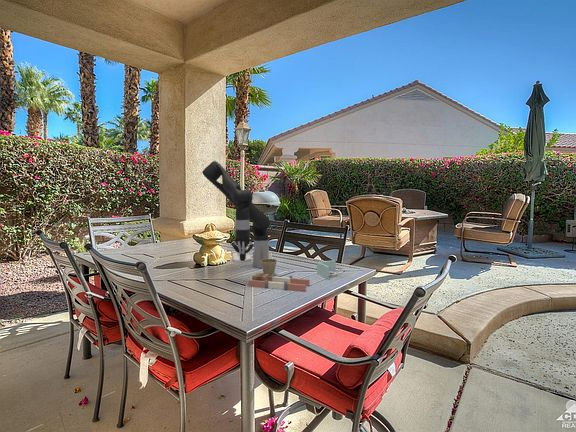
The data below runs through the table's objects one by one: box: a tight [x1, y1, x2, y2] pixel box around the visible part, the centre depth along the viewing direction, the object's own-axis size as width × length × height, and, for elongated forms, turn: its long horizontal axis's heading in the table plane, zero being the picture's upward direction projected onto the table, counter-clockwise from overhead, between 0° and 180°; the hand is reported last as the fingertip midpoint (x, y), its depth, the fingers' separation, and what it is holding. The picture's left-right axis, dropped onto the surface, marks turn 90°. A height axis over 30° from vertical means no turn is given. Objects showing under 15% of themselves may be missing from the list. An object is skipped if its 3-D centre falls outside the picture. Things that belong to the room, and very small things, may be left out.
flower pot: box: [261, 258, 278, 276], centre depth 176 cm, size 9×9×9 cm
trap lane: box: [247, 273, 311, 292], centre depth 158 cm, size 30×11×4 cm, turn 74°
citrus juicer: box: [232, 245, 252, 264], centre depth 211 cm, size 12×15×14 cm
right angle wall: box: [316, 259, 338, 280], centre depth 176 cm, size 12×12×8 cm
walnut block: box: [251, 272, 269, 281], centre depth 161 cm, size 7×6×5 cm
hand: (242, 260), depth 162 cm, fingers closed
